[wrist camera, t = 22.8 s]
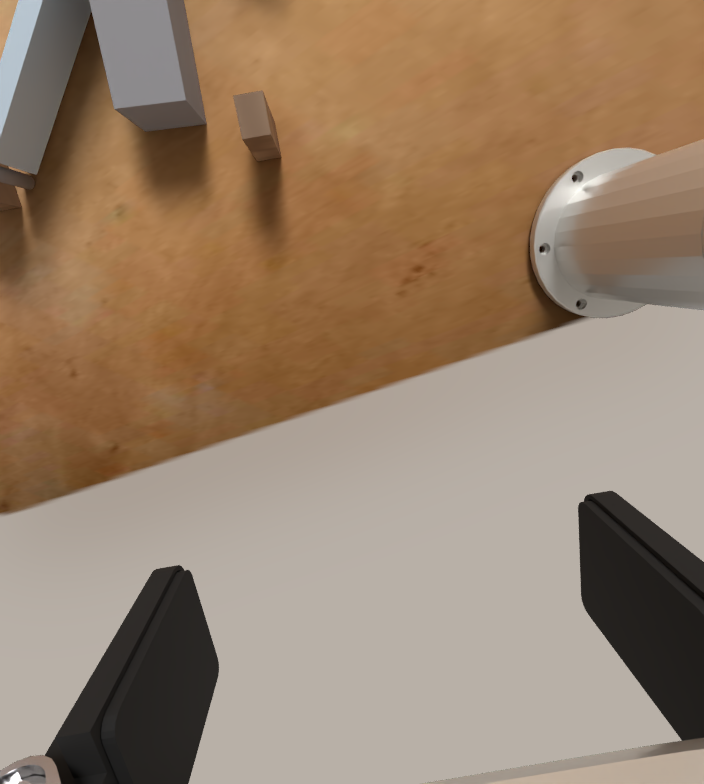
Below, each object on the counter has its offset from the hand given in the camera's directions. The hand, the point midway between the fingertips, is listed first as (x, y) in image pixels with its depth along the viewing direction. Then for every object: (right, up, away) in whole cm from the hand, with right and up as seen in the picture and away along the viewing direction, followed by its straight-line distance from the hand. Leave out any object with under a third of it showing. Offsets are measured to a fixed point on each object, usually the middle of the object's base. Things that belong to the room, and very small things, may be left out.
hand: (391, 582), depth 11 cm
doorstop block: (-14, +28, +21) cm, 38 cm away
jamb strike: (-7, +23, +23) cm, 33 cm away
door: (-22, +27, +21) cm, 40 cm away
